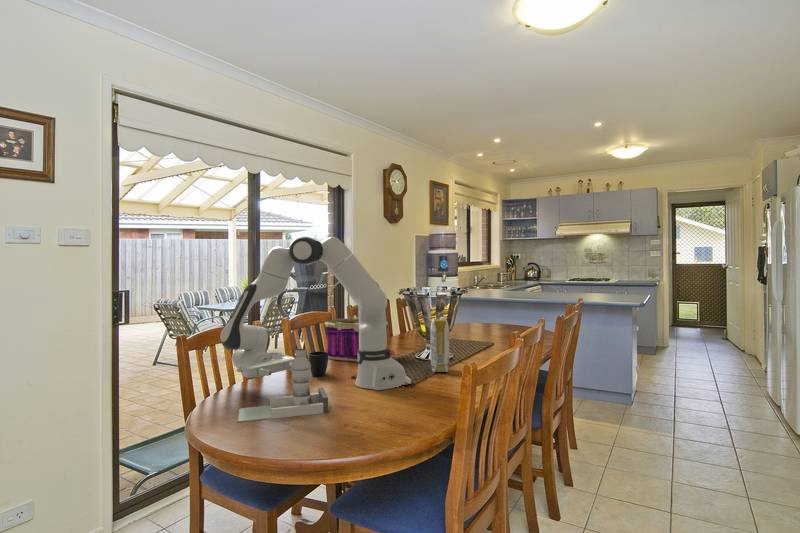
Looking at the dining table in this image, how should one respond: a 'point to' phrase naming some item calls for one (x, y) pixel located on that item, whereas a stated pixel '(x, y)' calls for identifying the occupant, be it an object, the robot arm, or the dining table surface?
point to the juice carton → (440, 345)
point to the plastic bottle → (301, 378)
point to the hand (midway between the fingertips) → (281, 370)
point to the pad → (254, 413)
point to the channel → (299, 410)
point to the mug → (318, 363)
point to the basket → (343, 336)
